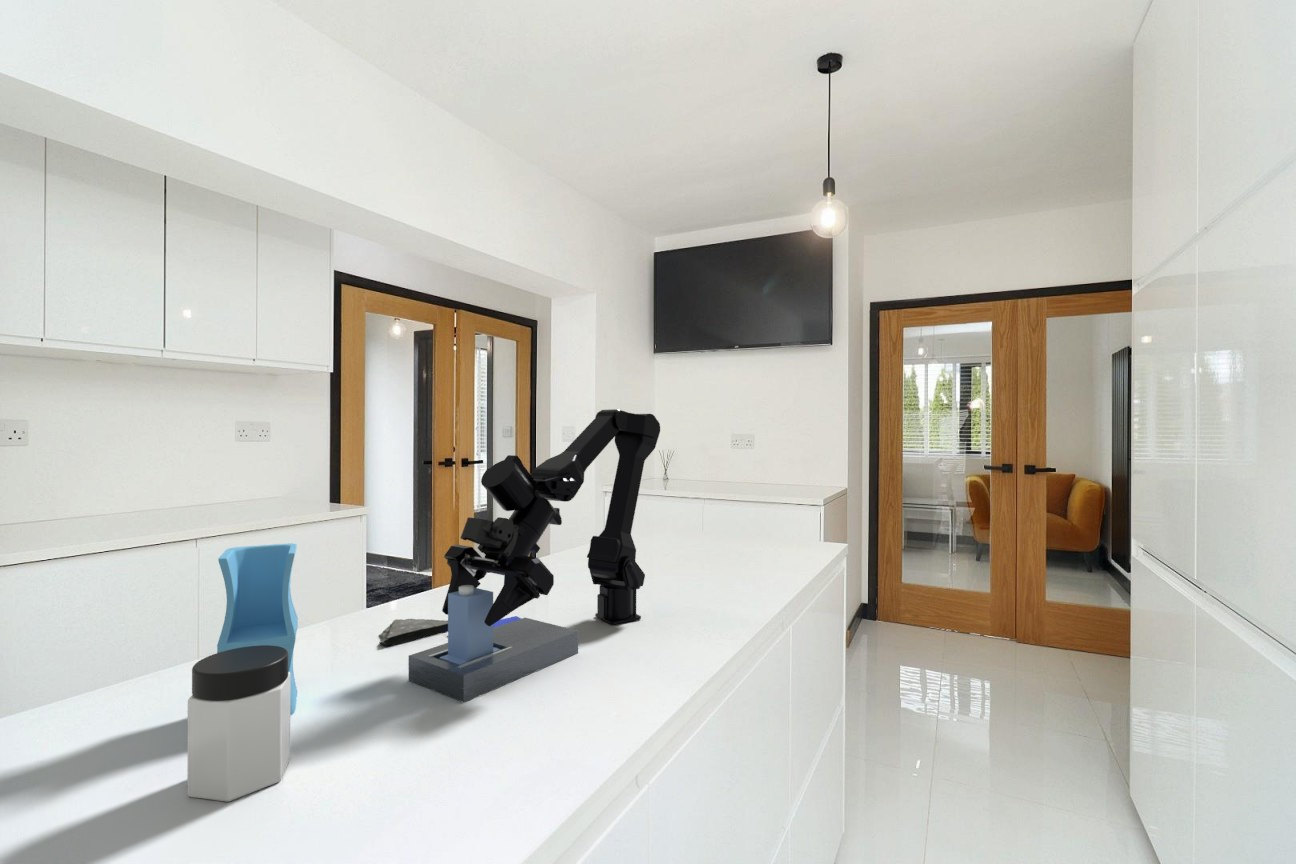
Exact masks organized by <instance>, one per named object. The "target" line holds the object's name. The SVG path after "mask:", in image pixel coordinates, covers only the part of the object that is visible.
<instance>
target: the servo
mask: <svg viewBox="0 0 1296 864" xmlns="http://www.w3.org/2000/svg"><path fill="white" fill-rule="evenodd" d="M493 603H494V591H491V590H486V589H482V588H478V587H477V588H474V586H472V585H463V586H460V587H459V591H457V592H453V593H448V615H447V621H448V632H447V643H448V655H445V656H442V657H439V660H442V661H445V662H448V663H451V664H454V665H457V666H459V665H462V664H465V663H467V662H470V661H473V660H475V659H478V658H481V657H483V656H486V655H489V654H492V653H494V652H497V651H500V650H501V649H498V648H495V647H493V625H491V626H487V625H486V624H485V623H484V621H485V619H486V617H487V614H488V612H489V610H490V609H491V607H492V605H493Z"/></svg>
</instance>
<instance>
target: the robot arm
mask: <svg viewBox="0 0 1296 864" xmlns="http://www.w3.org/2000/svg"><path fill="white" fill-rule="evenodd" d="M660 432H661V424H660V422H659V420H657V417H656V415H654V414H652V413H634V412H633V413H632V412H628V411H625V410H622V409H618V408H617V409H615V408H614V409H613V408H612V409H601V410H600V411H598V412H596V414H595V417H594V419H592V421H591V422H590V423H589V424H588V425H587V426H586V427H585V428H584V429H583V431H581V433H579V435H578V436H576V438H575V439H574V440H573V441H572V442H571V443H570V444H569V446H567V448H566V449H565V450H563V451H562V452H561V453H559V454H557V455H554V456H552V457H551V458H548V459H546V460H544V461H543V462H542V463H541V464H539V465H537V466H536V467H535V468H534V469H533V470H532V471H531V473H530V472H529V471H528V469H527V468H526V466H525V465H524V464H523V462H522V460H521V459H520V457H519V456H518V455H514V454H512V455H510V454H509V455H507V456H506V457H505V458H504V459H503V460H501V461H499V462H496V463H495V464H493V465H492V466H491V467H490V468H487V469H486V470H485V472H484V473H483V474H482V476H481V480H480V483H481V486H482V487H483V488H484V489H485V490H486V491H487V492H488V493H489V495H490V496H491V497H492V498H493V499H494V500H495V502H496V503H497V504H498V505H499V506H500V508H502V510H504V511H505V512H512V513H511V515H510V517H508V518H506V517H499V516H498V517H497V518H496V519H495V520H494V521H493V520H488V519H484V518H479V517H478V518H477V517H467V518H466V522H465V525H464V527H463V530H462V533H461V536H460V539H461V540H463V541H470V542H472V543H474V544H477V545H478V546H477V549H478V550H479V552H480V553H483V554H484V557H482V556H481V554H480V553H478V552H477V550H476V549H475V548H474V547H473V546H469V545H463V544H454V545H451V546H450V547H449V548H448V549H447V551H446V552H445V554H444V556H443V557H444V559H445V560H446V564H447V566H448V567H449V568H450V572H451V575H450V576H451V577H450V581H449V586H448V589H447V593H446V596H445V599H444V602H443V606H442V610H441V611H442V613H444V615H447V616H448V593H453V592H457V591H459V587H460V586H463V585H472V586H474V588H478V587H479V586H480V585H481V582H480V580H482V579H483V578H485V576H486V575H487V574H488V573H490V574H491V573H492V574H494V575H495V574H496V575H501V576H504V577H503V578H504V579H503V585H502V588H501V589H500V591H499V593H498V595H497V596H496V598H495V600H494V601H493V605H492V607H491V609H490V610H489V612H488V614H487V617H486V619H485V621H484V623H485V624H486V625H487V626H491V625H493V624H494V623H496V622H497V621H499V620H500V619H504V617H506V616H508V615H509V614H510V613H512V612H513V611H515V610H517V609H519V608H520V607H522V606H524V605H525V604H527V603H529V602H531V601H532V600H534V599H536V600H537V599H540V597H541V595H543V596H548V595H549V593H550V591H551V590H552V588H553V586H554V583H555V581H554V578H555V576H554V574H553V573H552V572H551V571H550V570H549V568H547V566H546V565H545V564H544V563H543V562H542V561H541V559H540V558H539V557H535V556H530V555H531V553H532V554H538V552H539V551H540V550H541V547H540V546H539V545H538V542H539V540H540V539H541V537H542V535H543V534H544V532H545V531H546V529H547V527H548V526H549V525H556V526H561V525H562V523H563V521H562V515H561V513H560V511H561V510H560V508H559V507H554V506H553V505H552V503H551V502H550V501H555V502H556V501H557V502H564V503H565V502H570V501H572V500H573V499H574V498H575V497H576V495H577V494H578V492H579V491H580V488H581V487H582V485H583V484H584V482H585V472H586V471H587V469H588V467H589V466H590V465H591V464H592V463H593V462H594V461H595V460H596V459H597V457H598V456H599V455H600V454H601V453H602V452H603V451H604V450H605V448H606V447H607V446H608V444H610V443H611V441H613V439H614V444H615V446H616V447H615V448H616V450H617V453H618V455H619V457H618V460H617V461H618V462H617V467H616V472H615V476H614V477H615V478H614V482H613V486H612V490H611V496H610V501H609V505H608V511H607V516H606V520H605V526H604V529H603V530H602V532H601V533H600V534H599V535H598V536H597V535H593V536H591V537H592V538H591V539H590V544H589V550H588V553H587V555H586V558H588V559H587V567H588V569H589V574H590V577H591V581H592V584H593V585H595V586H596V585H598V586H599V593H598V594H597V598H596V599H597V604H596V605H597V612H596V613H595V614H594V616H595V617H597V618H598V619H599V620H602V621H603V622H605V623H607V624H610V625H617V624H623V623H628V622H633V621H638V620H641V618H642V616H641V615H639V614H637V590H639V589H641V587H643V586H644V582H645V578H646V577H645V576H646V574H645V573H644V571H643V569H641V567H640V566H639V564H638V563H637V562H636V558H637V557H636V555H637V548H636V545H635V542H634V540H633V537H632V530H633V524H634V520H635V519H634V518H635V514H636V508H637V504H638V503H637V502H638V497H639V492H640V487H641V482H642V476H643V471H644V465H645V461H646V460H647V459H648V457H649V456H650V455H651V454H652V452H654V450H655V448H656V447H657V443H658V440H659V437H660Z"/></svg>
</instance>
